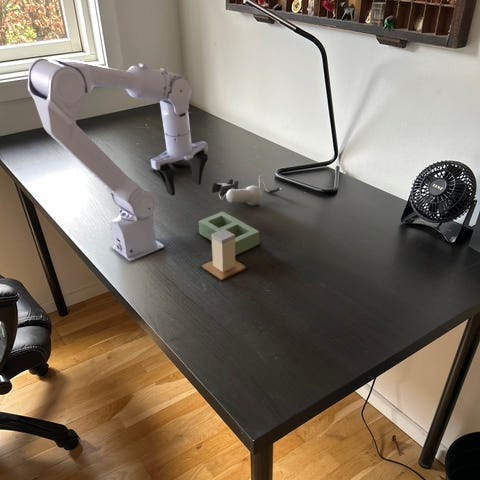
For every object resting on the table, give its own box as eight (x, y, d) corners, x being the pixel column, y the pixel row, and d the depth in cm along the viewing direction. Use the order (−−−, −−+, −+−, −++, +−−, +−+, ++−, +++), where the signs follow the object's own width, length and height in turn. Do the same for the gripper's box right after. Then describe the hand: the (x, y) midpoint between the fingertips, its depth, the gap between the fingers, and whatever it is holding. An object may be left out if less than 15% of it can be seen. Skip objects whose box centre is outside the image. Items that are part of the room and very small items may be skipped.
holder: (235, 255, 114) (234, 242, 112) (199, 233, 122) (198, 221, 120) (259, 244, 118) (259, 231, 116) (222, 223, 126) (222, 211, 124)
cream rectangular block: (223, 272, 108) (221, 240, 103) (212, 265, 110) (211, 234, 105) (235, 266, 110) (234, 234, 105) (225, 259, 112) (224, 228, 107)
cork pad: (221, 280, 106) (221, 278, 106) (202, 267, 110) (201, 265, 110) (245, 268, 110) (245, 266, 110) (225, 256, 114) (225, 254, 114)
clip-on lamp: (261, 194, 145) (208, 196, 136) (264, 172, 142) (210, 172, 133) (284, 206, 137) (230, 208, 127) (289, 183, 134) (233, 184, 124)
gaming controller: (166, 177, 147) (161, 160, 145) (149, 176, 152) (145, 160, 149) (192, 164, 155) (188, 148, 152) (176, 164, 159) (171, 148, 157)
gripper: (159, 146, 103) (168, 204, 112) (214, 127, 110) (218, 183, 119) (142, 137, 107) (152, 194, 116) (195, 119, 114) (200, 174, 123)
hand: (184, 188), depth 118 cm, fingers open, 7 cm apart
